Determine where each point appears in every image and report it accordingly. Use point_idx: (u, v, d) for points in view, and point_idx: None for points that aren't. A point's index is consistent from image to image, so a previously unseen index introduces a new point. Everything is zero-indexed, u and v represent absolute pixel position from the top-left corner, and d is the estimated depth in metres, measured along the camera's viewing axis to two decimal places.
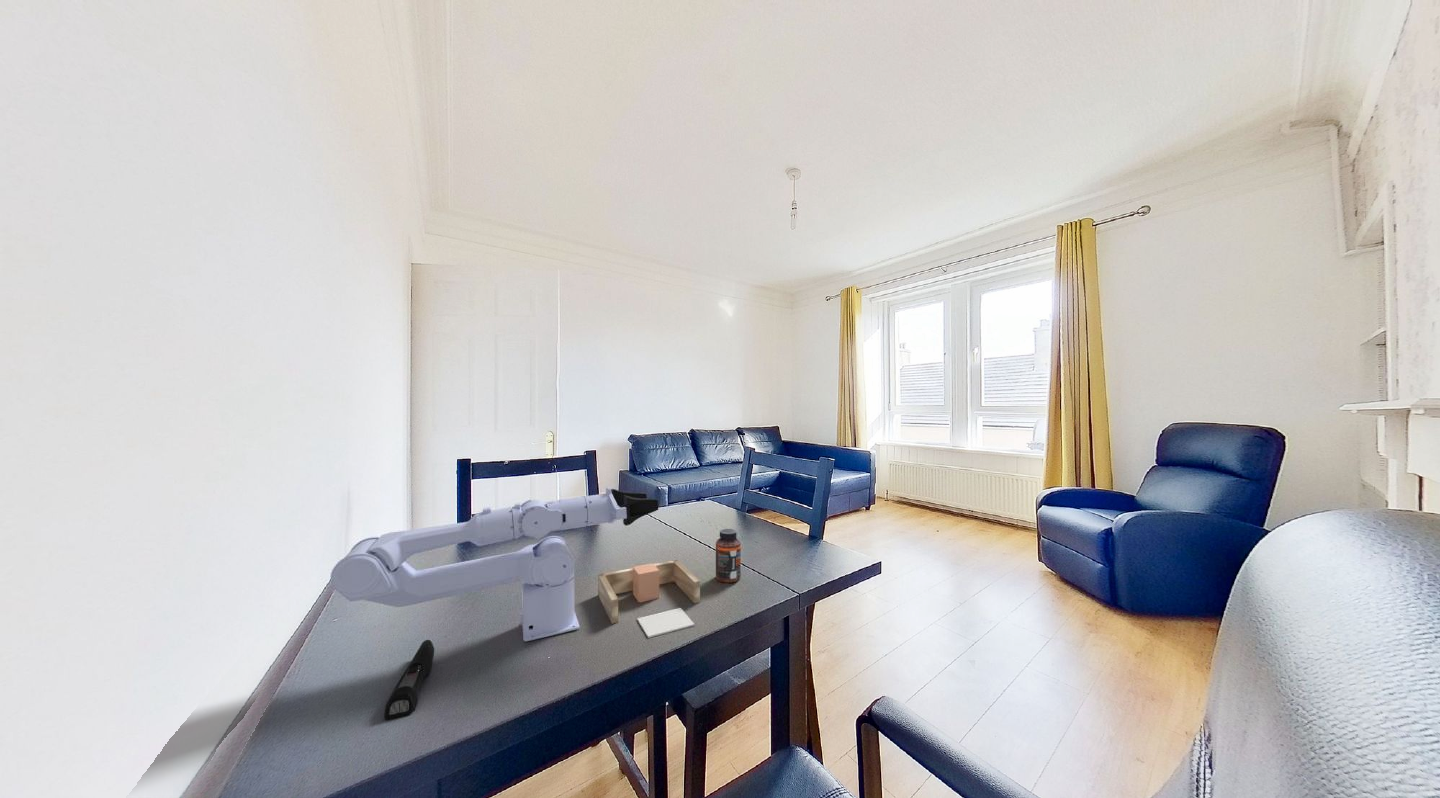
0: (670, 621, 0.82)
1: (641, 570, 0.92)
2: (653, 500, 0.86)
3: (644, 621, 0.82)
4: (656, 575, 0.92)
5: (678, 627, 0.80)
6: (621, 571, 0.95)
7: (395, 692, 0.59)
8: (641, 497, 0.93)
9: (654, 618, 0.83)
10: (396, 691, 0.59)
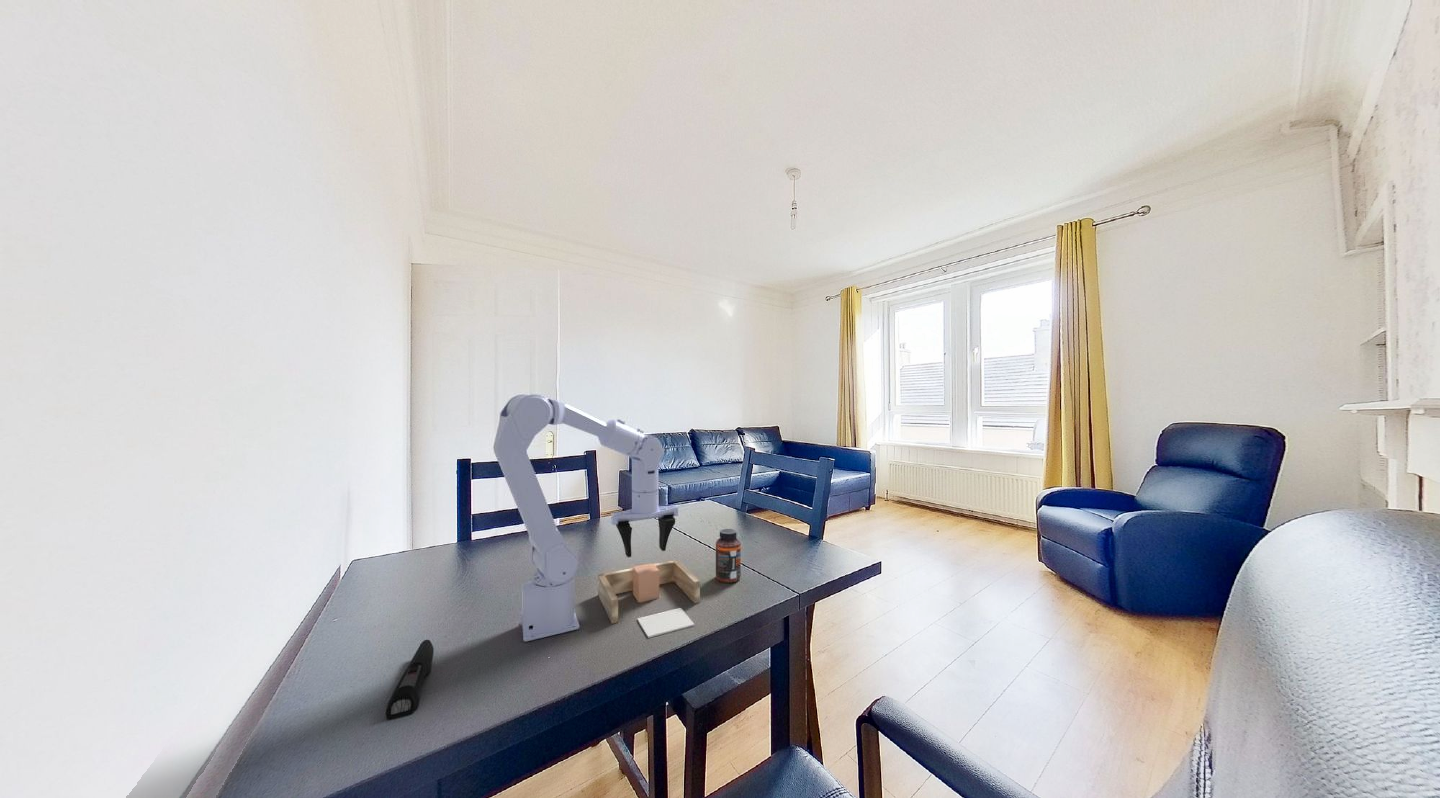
0: (670, 621, 0.82)
1: (641, 570, 0.92)
2: None
3: (644, 621, 0.82)
4: (656, 575, 0.92)
5: (678, 627, 0.80)
6: (621, 571, 0.95)
7: (396, 691, 0.59)
8: None
9: (654, 618, 0.83)
10: (397, 690, 0.60)
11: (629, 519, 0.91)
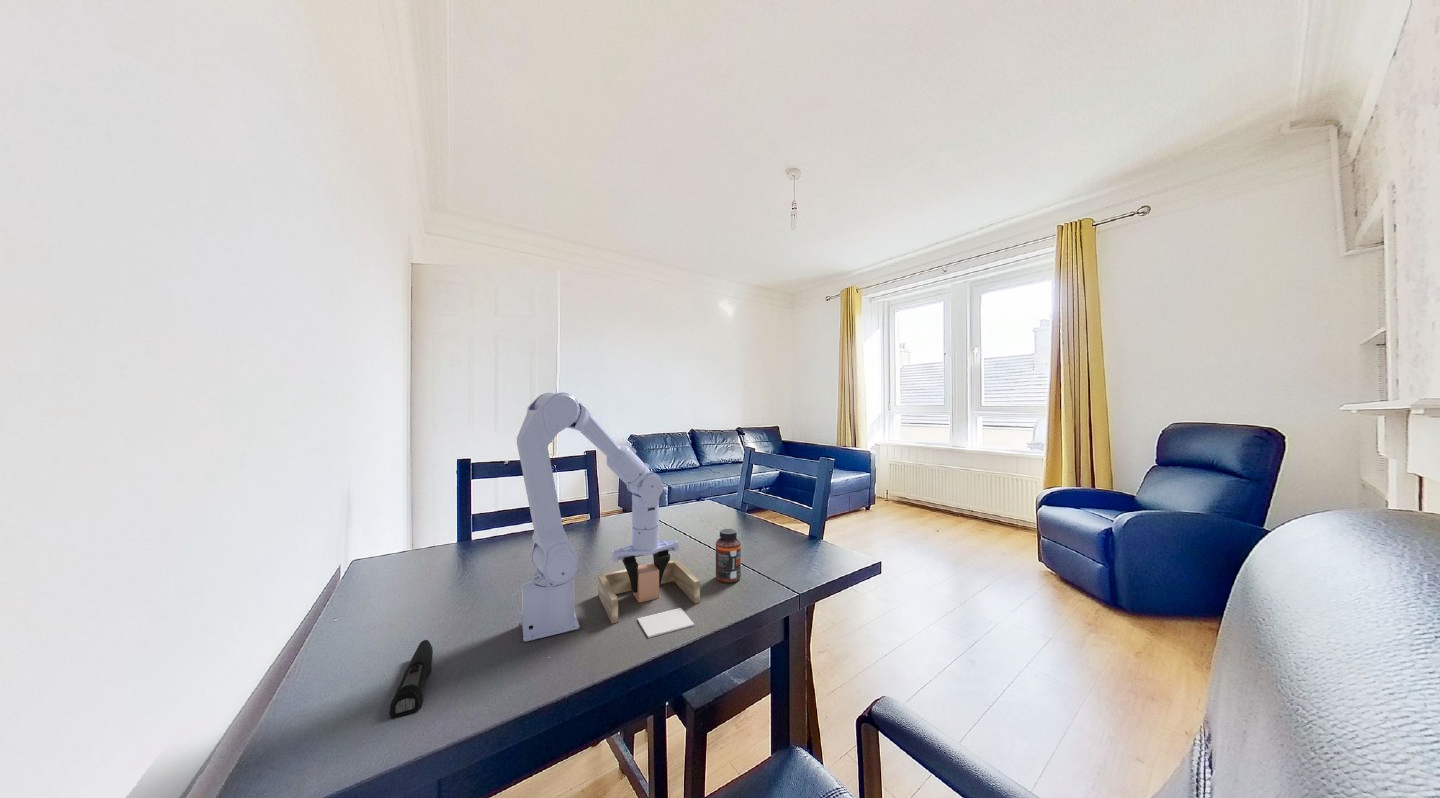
0: (670, 621, 0.82)
1: (641, 570, 0.92)
2: None
3: (644, 621, 0.82)
4: (656, 575, 0.92)
5: (678, 627, 0.80)
6: (621, 571, 0.95)
7: (400, 691, 0.60)
8: None
9: (654, 618, 0.83)
10: (401, 690, 0.60)
11: (629, 556, 0.91)
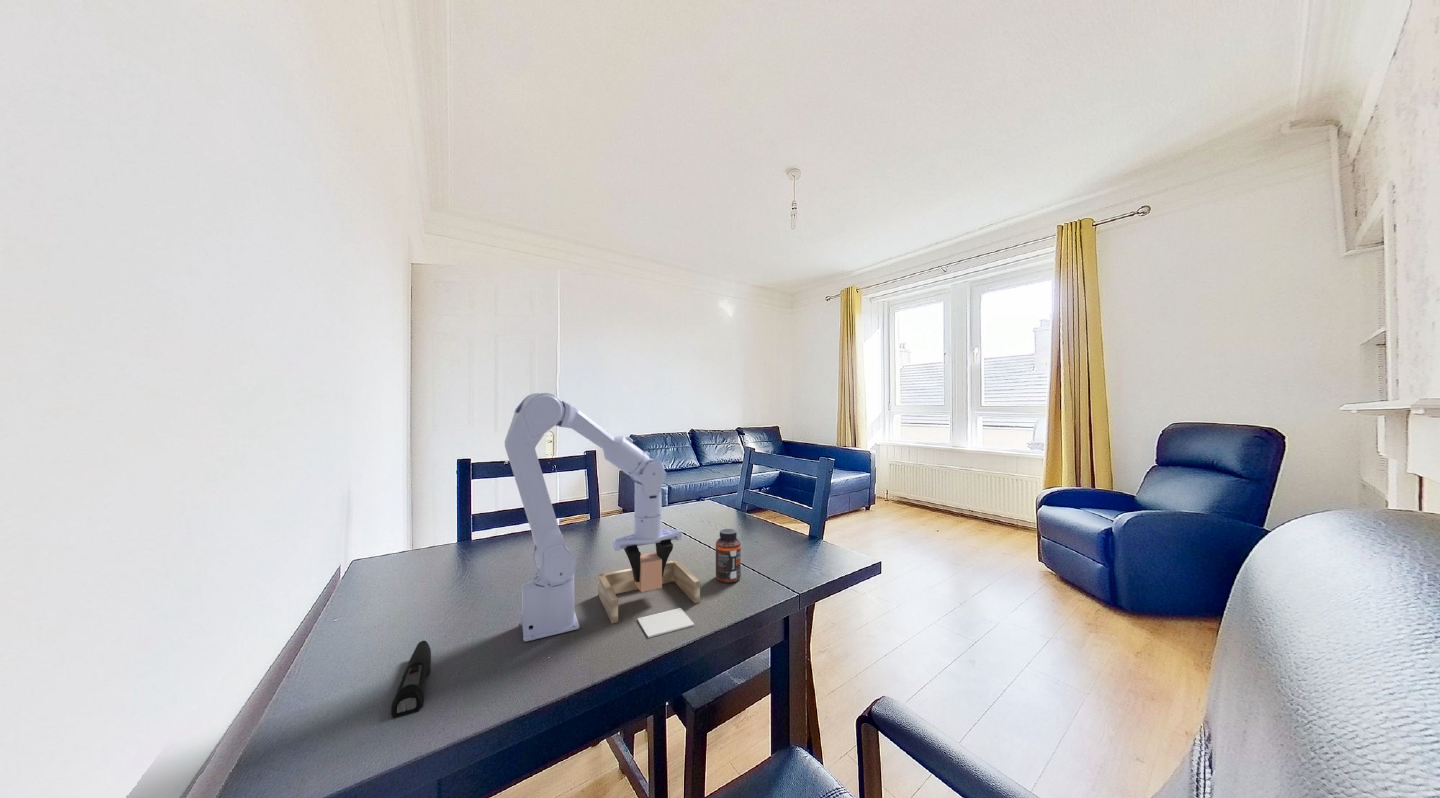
0: (670, 621, 0.82)
1: (644, 559, 0.90)
2: None
3: (644, 621, 0.82)
4: (659, 564, 0.90)
5: (678, 627, 0.80)
6: (621, 571, 0.95)
7: (401, 691, 0.60)
8: None
9: (654, 618, 0.83)
10: (402, 689, 0.60)
11: (632, 544, 0.89)
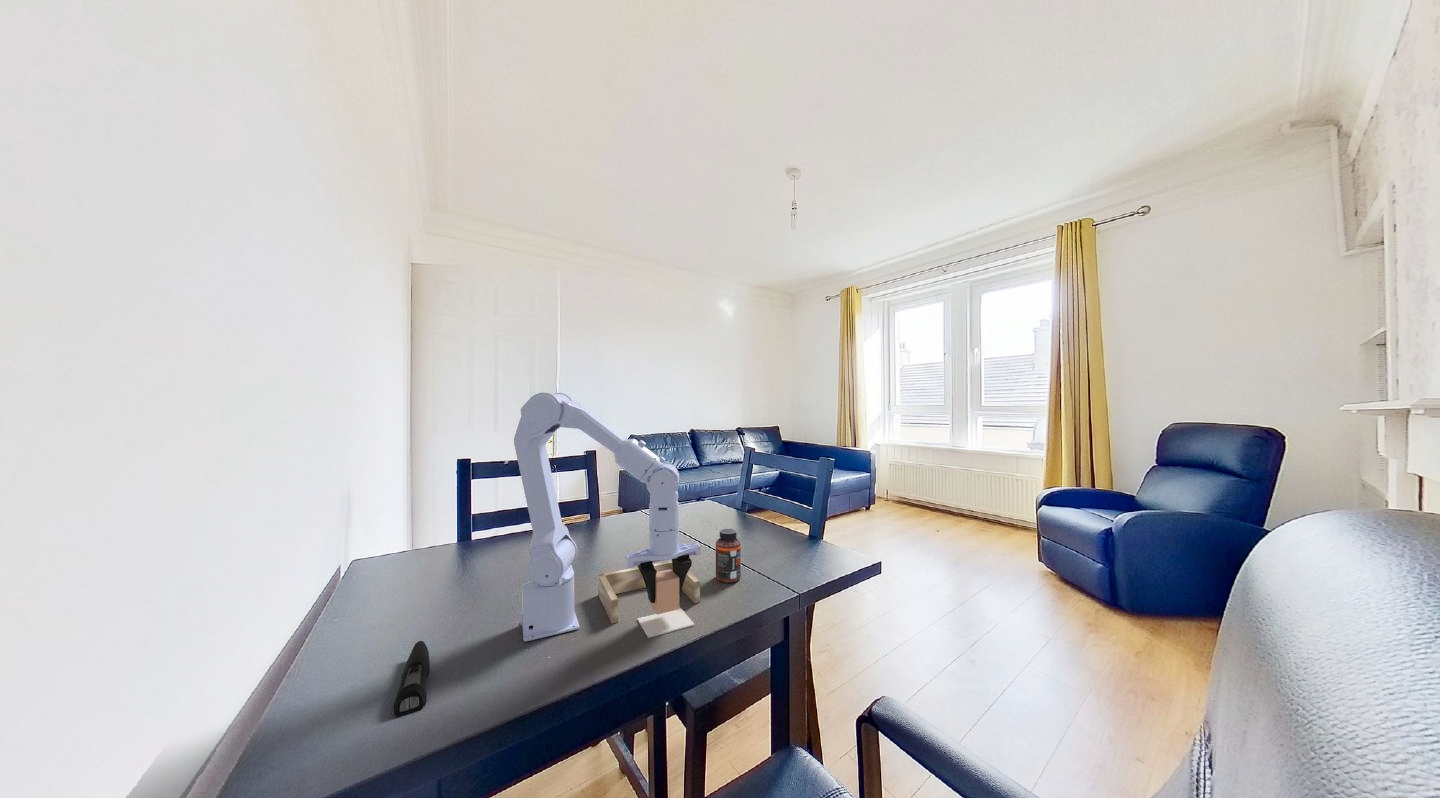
0: (670, 621, 0.82)
1: (659, 578, 0.81)
2: None
3: (644, 621, 0.82)
4: (676, 583, 0.81)
5: (678, 627, 0.80)
6: (621, 571, 0.95)
7: (403, 690, 0.60)
8: None
9: (654, 618, 0.83)
10: (404, 689, 0.60)
11: (646, 561, 0.80)
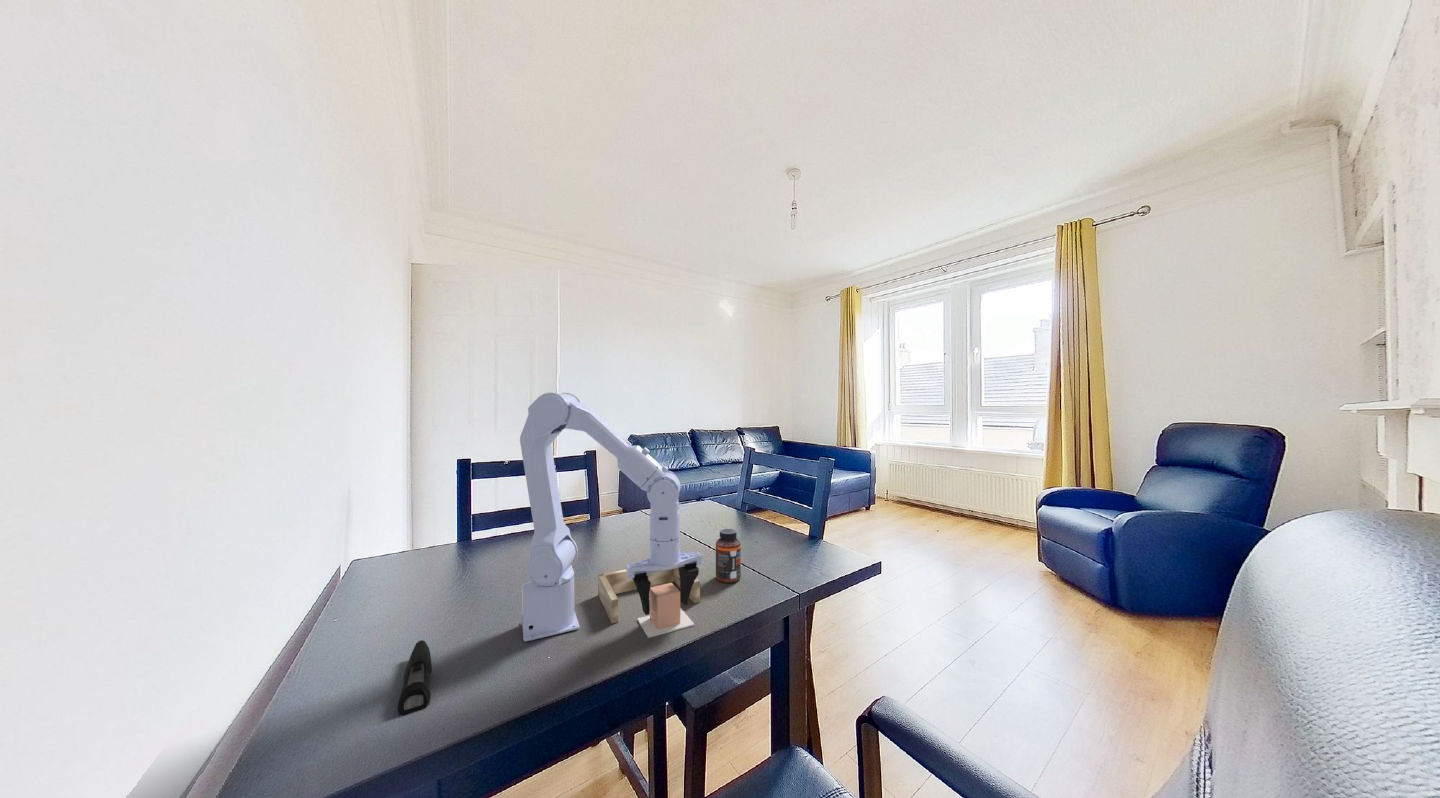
0: None
1: (660, 592, 0.81)
2: None
3: (644, 621, 0.82)
4: (677, 597, 0.81)
5: (678, 627, 0.80)
6: (621, 571, 0.95)
7: (407, 688, 0.60)
8: None
9: None
10: (408, 687, 0.60)
11: (647, 571, 0.80)
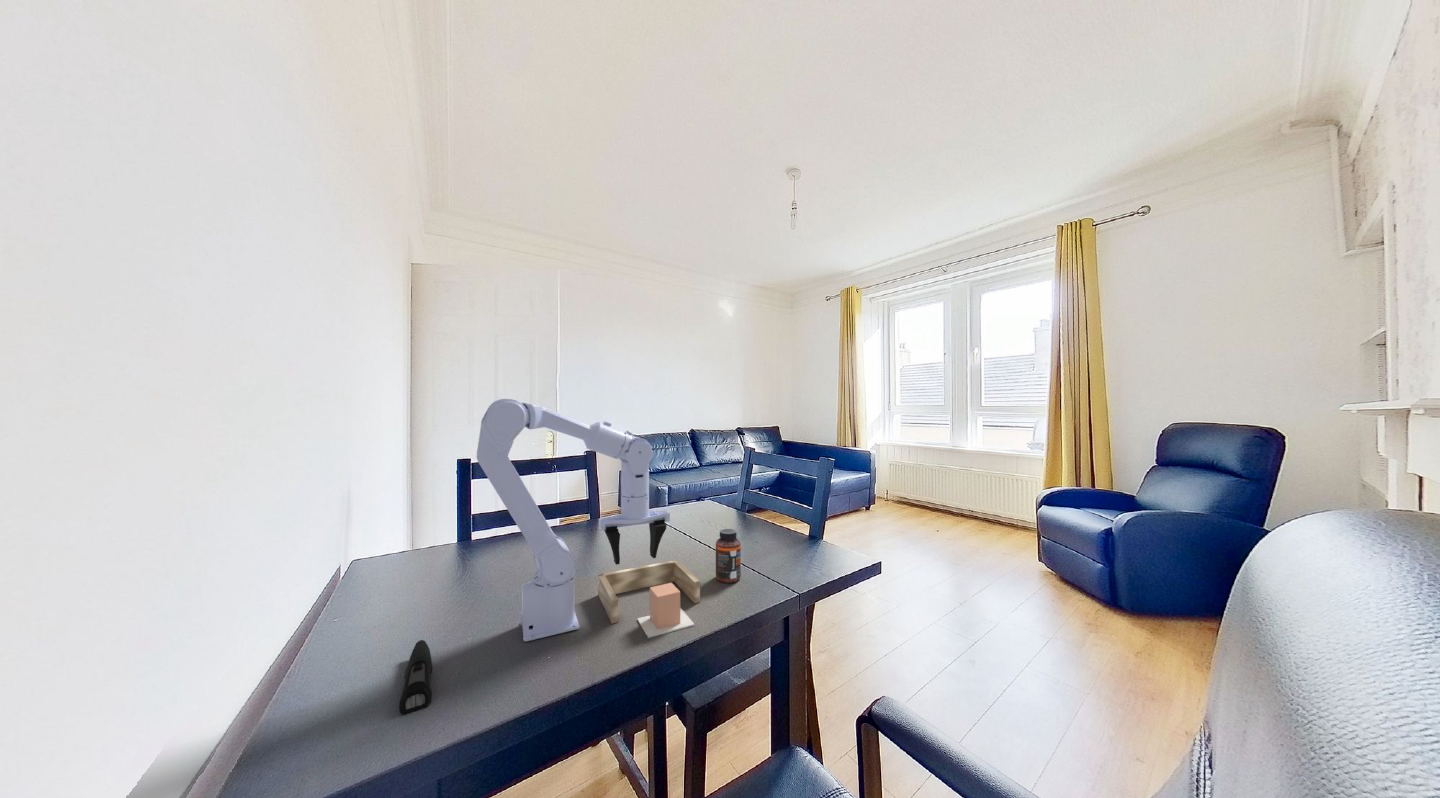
0: None
1: (660, 592, 0.81)
2: None
3: (644, 621, 0.82)
4: (677, 597, 0.81)
5: (678, 627, 0.80)
6: (621, 571, 0.95)
7: (408, 688, 0.60)
8: None
9: None
10: (409, 687, 0.60)
11: (618, 525, 0.87)
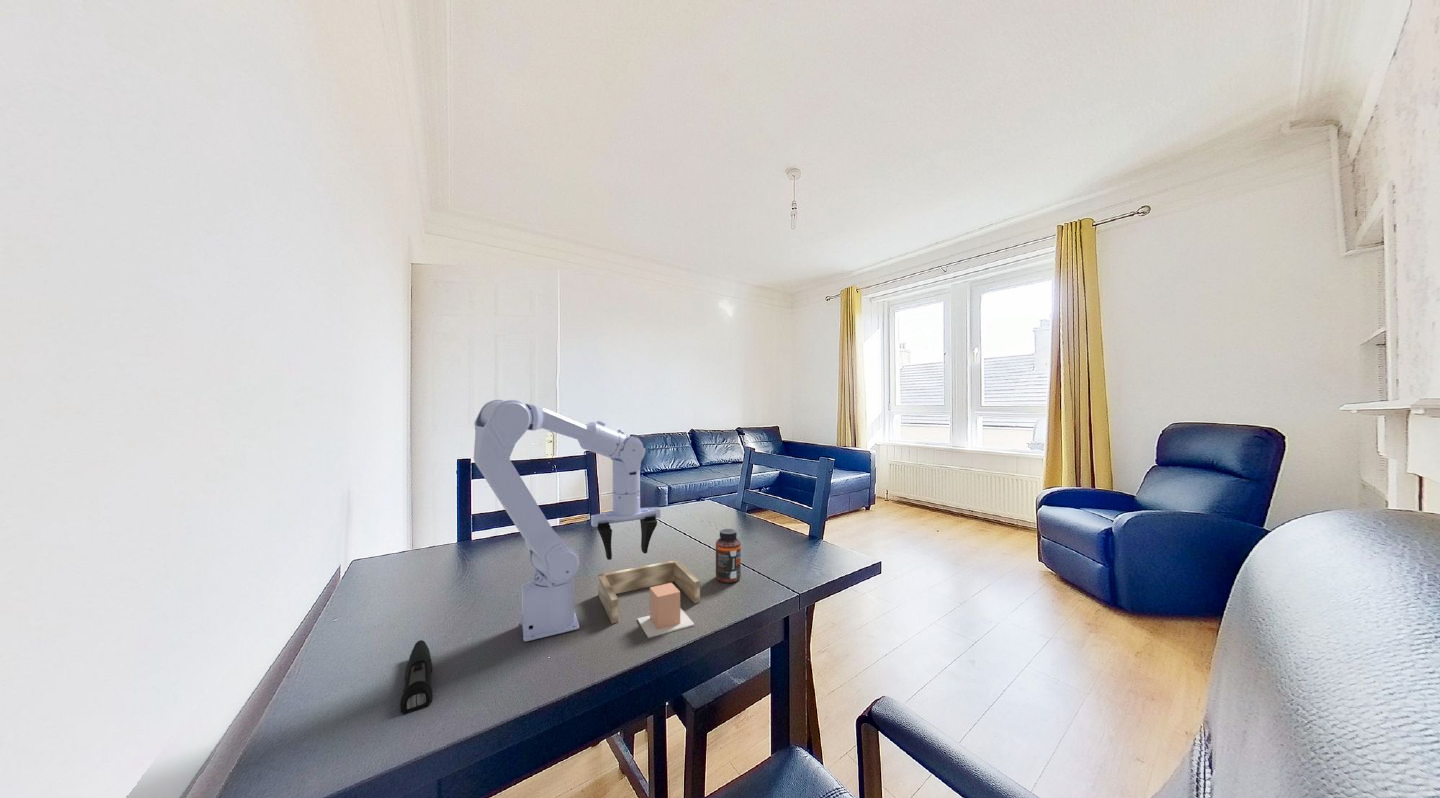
0: None
1: (660, 592, 0.81)
2: None
3: (644, 621, 0.82)
4: (677, 597, 0.81)
5: (678, 627, 0.80)
6: (621, 571, 0.95)
7: (409, 687, 0.60)
8: None
9: None
10: (410, 686, 0.60)
11: (610, 521, 0.90)
